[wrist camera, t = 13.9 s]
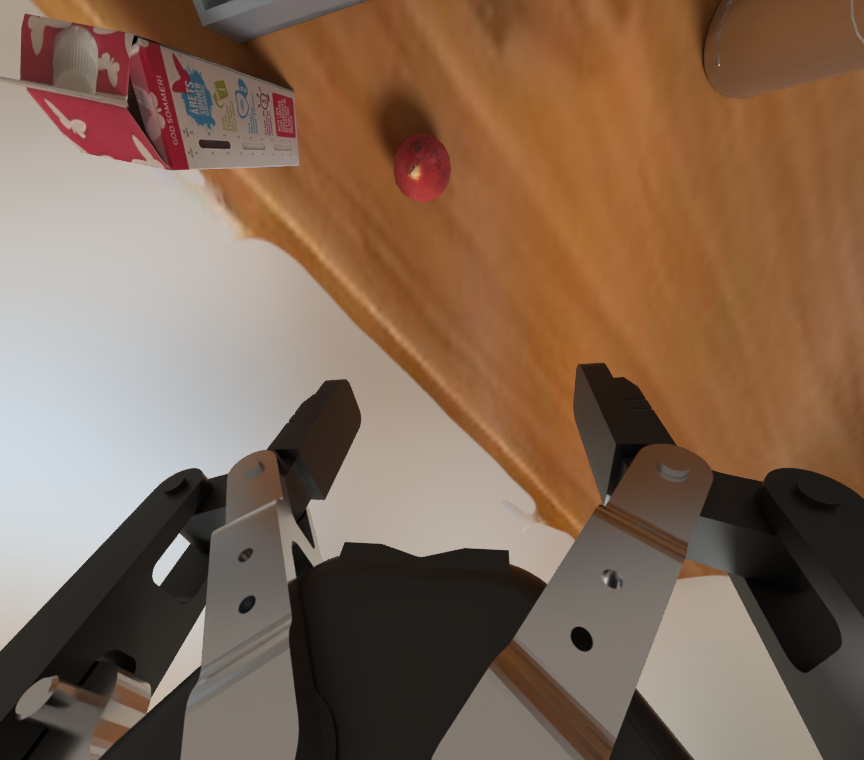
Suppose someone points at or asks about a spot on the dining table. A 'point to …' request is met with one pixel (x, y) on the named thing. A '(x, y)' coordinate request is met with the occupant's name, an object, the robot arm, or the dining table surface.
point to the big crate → (261, 15)
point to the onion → (422, 167)
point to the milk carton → (153, 100)
